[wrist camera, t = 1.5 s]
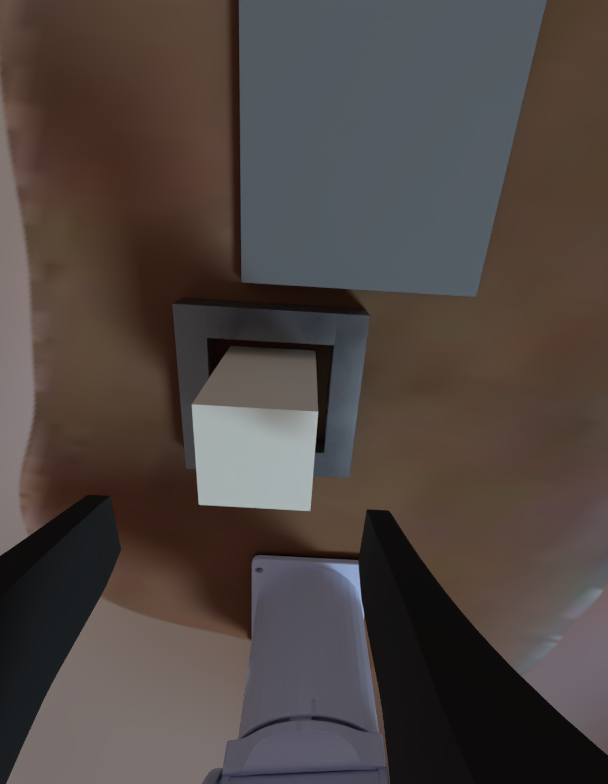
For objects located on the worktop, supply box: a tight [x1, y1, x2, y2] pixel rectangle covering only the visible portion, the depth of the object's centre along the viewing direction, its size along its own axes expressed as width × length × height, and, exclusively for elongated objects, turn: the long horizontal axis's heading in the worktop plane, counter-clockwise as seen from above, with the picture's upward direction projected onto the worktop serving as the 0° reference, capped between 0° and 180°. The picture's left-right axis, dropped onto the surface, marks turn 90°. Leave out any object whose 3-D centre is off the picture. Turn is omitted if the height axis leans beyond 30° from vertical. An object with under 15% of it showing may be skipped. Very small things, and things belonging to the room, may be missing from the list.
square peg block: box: [192, 346, 318, 511], centre depth 17 cm, size 4×4×7 cm
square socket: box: [172, 298, 370, 478], centre depth 20 cm, size 9×9×2 cm
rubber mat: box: [239, 0, 547, 297], centre depth 16 cm, size 11×11×1 cm
